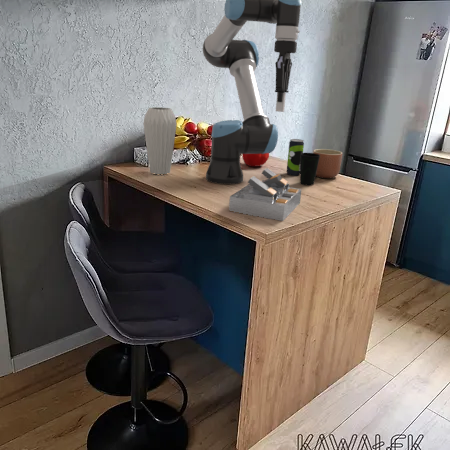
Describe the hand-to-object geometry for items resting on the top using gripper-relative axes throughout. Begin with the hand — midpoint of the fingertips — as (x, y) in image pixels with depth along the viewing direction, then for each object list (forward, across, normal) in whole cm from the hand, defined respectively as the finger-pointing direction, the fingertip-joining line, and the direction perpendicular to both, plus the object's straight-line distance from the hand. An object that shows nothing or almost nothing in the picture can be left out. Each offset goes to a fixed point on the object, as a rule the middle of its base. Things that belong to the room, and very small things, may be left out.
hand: (279, 111), depth 163 cm
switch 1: (+21, -21, -4) cm, 30 cm away
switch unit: (+29, -21, -4) cm, 36 cm away
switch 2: (+21, -28, -4) cm, 35 cm away
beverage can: (+30, +31, 0) cm, 43 cm away
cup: (+30, +18, -9) cm, 36 cm away
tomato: (+30, +37, +20) cm, 51 cm away
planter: (+30, +35, -13) cm, 48 cm away
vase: (+30, 0, +49) cm, 57 cm away
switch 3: (+21, -14, -4) cm, 26 cm away
